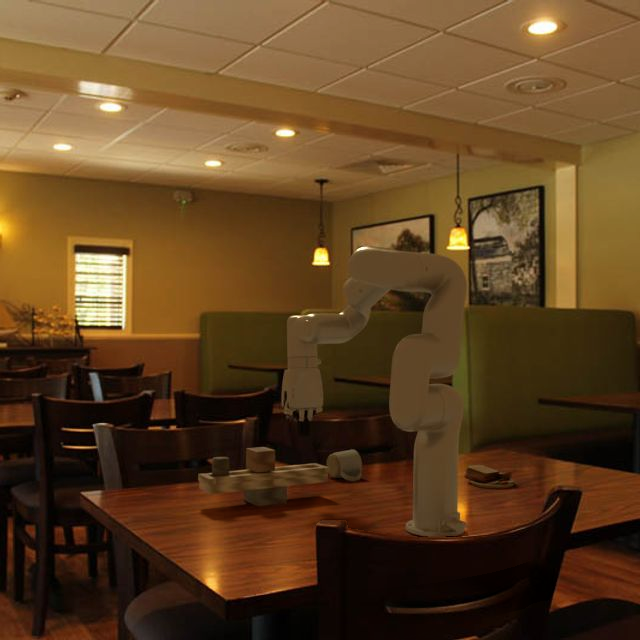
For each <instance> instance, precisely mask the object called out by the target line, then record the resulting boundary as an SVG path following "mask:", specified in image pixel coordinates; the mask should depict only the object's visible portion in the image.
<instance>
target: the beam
mask: <svg viewBox="0 0 640 640" xmlns="http://www.w3.org/2000/svg"><path fill="white" fill-rule="evenodd" d="M211 461H212V462H211V463H212V464H211V468H212V469H211V472H208V473H198V475H197V476H198V477H197V481H198V482H199V483H198V488H199V490H201V491H203V492H206V493H207V494H209V495H216V494H226V493H227V494H229V493H236V492H243V493H242V494H243V496H242V497H243V498H242V499H243V501H245V502H248V503H249V504H252V505H254V506H256V507H263V506H271V505H280V504H287V503H288V498H287V497H288V487H291V486H302V485H309V484H312V485H313V484H318V483H328V481H329V477H328V476H329V475H330V474H329V467H327V465H322V464H320V463H316V462H313V463H312V462H311V463H304V464H293V465H281V466H275V471H267V472H262V473H251V470H249V469H238V470H230V458H229V457H228V456H215V457H212V460H211Z"/></svg>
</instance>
